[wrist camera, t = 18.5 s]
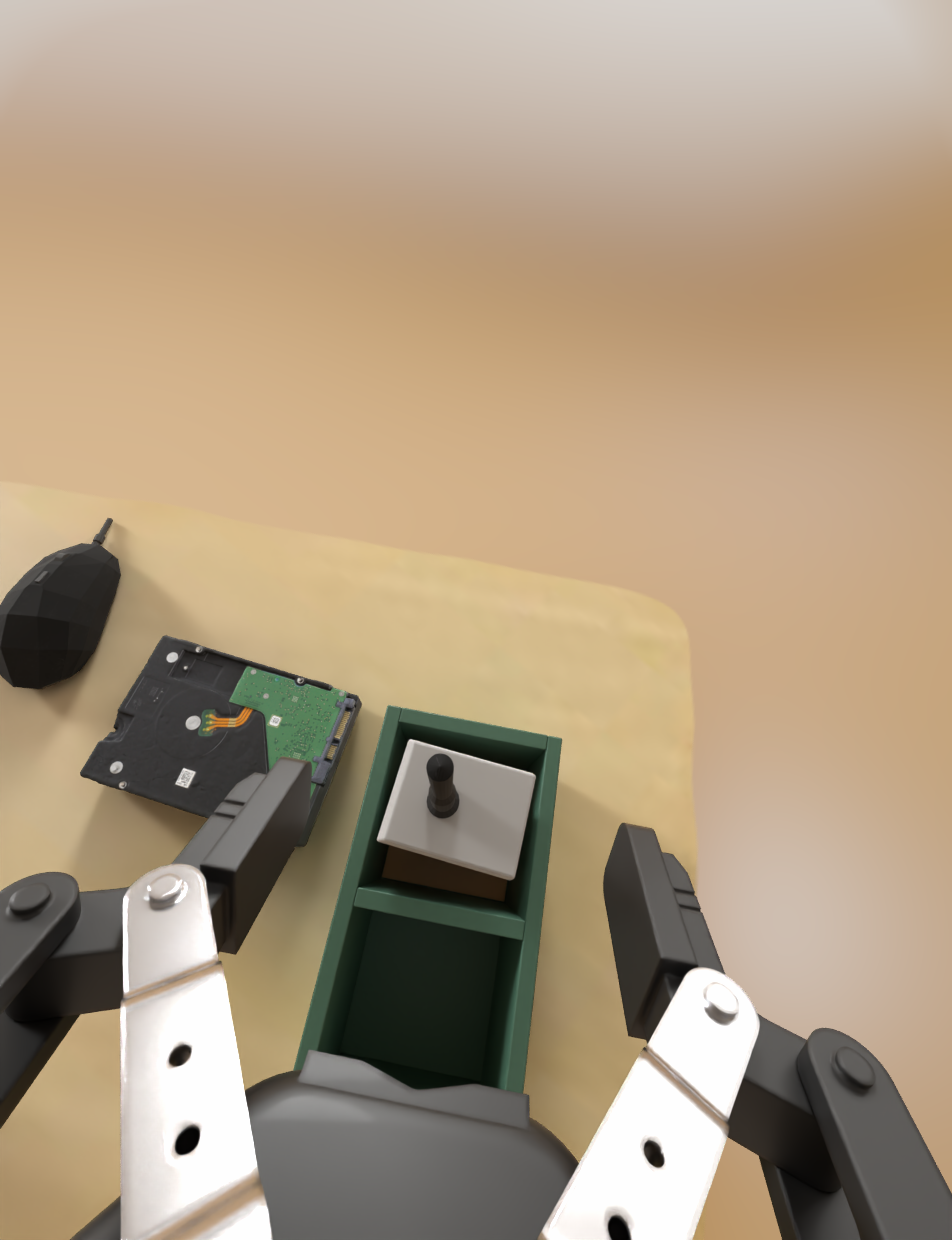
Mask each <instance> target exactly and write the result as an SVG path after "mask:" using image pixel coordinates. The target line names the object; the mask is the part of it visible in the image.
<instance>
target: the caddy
mask: <svg viewBox="0 0 952 1240" xmlns="http://www.w3.org/2000/svg"><path fill="white" fill-rule="evenodd" d="M410 739H412V740H416V741H419V742H423V743H426V744H430V745H433V746H437V747H440V748H444V749H448V750H451V751H455V752H458V753H462V754H465V755H469V756H473V757H476V758H480V759H483V760H487V761H490V762H494V763H498V764H501V765H505V766H508V767H512V768H515V769H519V770H522V771H526V772H530V773H533V774H534V775H535V776H536V779H535V784H534V788H533V793H532V798H531V803H530V807H529V812H528V817H527V822H526V827H525V831H524V836H523V841H522V846H521V851H520V855H519V860H518V865H517V870H516V874H515V877H514V879H512V880H507V879H503V878H500V877H496V876H493V875H490V874H486V873H483V872H479V871H476V870H473V869H469V868H466V867H462V866H459V865H456V864H452V863H449V862H445V861H442V860H439V859H435V858H432V857H428V856H425V855H422V854H418V853H415V852H411V851H408V850H405V849H401V848H398V847H394V846H391V845H388V844H384V843H381V842H378V841H377V837H378V834H379V831H380V828H381V825H382V822H383V819H384V815H385V812H386V809H387V806H388V803H389V800H390V797H391V794H392V790H393V787H394V784H395V781H396V778H397V775H398V772H399V768H400V765H401V762H402V759H403V756H404V753H405V750H406V747H407V743H408V741H409V740H410ZM561 744H562V739H561V738H558V737H552V736H548V737H547V735H543V734H537V733H532V732H527V731H522V730H517V729H511V728H506V727H501V726H496V725H490V724H485V723H480V722H475V721H470V720H464V719H459V718H454V717H449V716H444V715H438V714H433V713H428V712H423V711H417V710H412V709H407V708H401V707H396V706H391V705H388V706H387V710H386V714H385V718H384V721H383V725H382V729H381V733H380V737H379V741H378V745H377V749H376V752H375V756H374V760H373V764H372V768H371V772H370V776H369V780H368V783H367V787H366V791H365V795H364V799H363V803H362V807H361V810H360V814H359V818H358V822H357V826H356V830H355V834H354V838H353V841H352V845H351V849H350V853H349V857H348V861H347V865H346V869H345V872H344V876H343V880H342V884H341V888H340V892H339V896H338V899H337V903H336V907H335V911H334V915H333V919H332V923H331V927H330V930H329V934H328V938H327V942H326V946H325V950H324V954H323V958H322V961H321V965H320V969H319V973H318V977H317V981H316V985H315V989H314V992H313V996H312V1000H311V1004H310V1008H309V1012H308V1016H307V1019H306V1023H305V1027H304V1031H303V1035H302V1039H301V1043H300V1047H299V1050H298V1054H297V1058H296V1062H295V1066H294V1070H293V1071H295V1070H302V1068H303V1065H304V1062H305V1059H306V1056H307V1054H308V1051H309V1050H313V1051H318V1052H323V1053H328V1054H333V1055H338V1056H342V1057H347V1058H352V1059H357V1060H362V1061H364V1062H366V1063H368V1064H369V1065H371V1066H373V1067H375V1068H376V1069H378V1070H380V1071H382V1072H384V1073H385V1074H387V1075H389V1076H391V1077H392V1078H394V1079H396V1080H398V1081H399V1082H401V1083H403V1084H405V1085H407V1086H408V1087H410V1088H412V1089H416V1090H425V1089H433V1088H442V1087H451V1086H460V1085H468V1084H478V1085H483V1086H488V1087H493V1088H497V1089H502V1090H507V1091H512V1092H517V1093H522V1094H523V1090H524V1081H525V1072H526V1063H527V1054H528V1044H529V1035H530V1026H531V1017H532V1008H533V999H534V990H535V981H536V972H537V963H538V954H539V944H540V935H541V926H542V917H543V908H544V899H545V890H546V881H547V872H548V863H549V854H550V844H551V835H552V826H553V817H554V808H555V799H556V790H557V781H558V772H559V763H560V754H561Z"/></svg>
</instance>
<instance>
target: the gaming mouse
mask: <svg viewBox="0 0 952 1240" xmlns="http://www.w3.org/2000/svg"><path fill="white" fill-rule="evenodd" d="M112 521H113V520H112V519H111V518H107V520H106V522H105V524H104V525H103V527H102V529H101V531H100V533H99V534H96V536H95V538H94V539H93V542H92V544H78V545H75V546H72V547H69V548H66V549H63V550H60V551H57V552H55V553H53V554H51V555H49V556H47V557H45V558H43V559H42V560H41V561H40V562H39V563H38V564H36V565H35V566H34V567H33V568H32V569H30V570H29V571H28V572H27V573H26V574H25V575H24V576H23V577H22V578H21V579H20V580H19V582H18V583H17V584H16V585H15V586H14V587H13V588H12V589H11V590H10V591H9V592H8V593H7V595H6V597H5V598H4V600H3V601H2V603H1V605H0V675H1V676H2V677H3V678H4V679H5V680H6V681H7V682H9V683H10V684H11V685H12V686H13V687H22V688H33V689H43V688H45V687H47V686H50V685H52V684H55V683H57V682H60V681H62V680H64V679H67V678H69V677H71V676H73V675H74V674H76V673H77V672H78V671H80V670H81V669H82V667H83V666H84V665H85V663H86V662H87V660H88V659H89V658H90V656H91V655H92V654H93V652H94V651H95V649H96V646H97V644H98V641H99V639H100V636H101V634H102V631H103V628H104V624H105V621H106V618H107V615H108V612H109V610H110V607H111V604H112V601H113V599H114V596H115V593H116V589H117V586H118V583H119V579H120V576H121V574H120V568H119V562H118V559H117V558H116V557H114V556H113V555H112V554H111V553H109V552H108V551H107V550H106V549H104V548H103V547H102V546H100V545H101V544H102V543H103V542H104V540H105V534H106V532H107V530H108V529H109V527H110V525H111V523H112Z"/></svg>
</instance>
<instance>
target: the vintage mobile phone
mask: <svg viewBox="0 0 952 1240" xmlns="http://www.w3.org/2000/svg"><path fill="white" fill-rule="evenodd" d="M535 779H536V776H535V775H534V774H533V773H530V772H526V771H522V770H519V769H515V768H512V767H508V766H505V765H501V764H498V763H494V762H490V761H487V760H483V759H480V758H476V757H473V756H469V755H465V754H462V753H458V752H455V751H451V750H448V749H444V748H440V747H437V746H433V745H430V744H426V743H423V742H419V741H416V740H412V739H410V740H409V741H408V743H407V747H406V750H405V753H404V756H403V759H402V762H401V765H400V768H399V772H398V775H397V778H396V781H395V784H394V787H393V790H392V794H391V797H390V800H389V803H388V806H387V809H386V812H385V815H384V819H383V822H382V825H381V828H380V831H379V834H378V837H377V841H378V842H381V843H384V844H388V845H391V846H394V847H398V848H401V849H405V850H408V851H411V852H415V853H418V854H422V855H425V856H428V857H432V858H435V859H439V860H442V861H445V862H449V863H452V864H456V865H459V866H462V867H466V868H469V869H473V870H476V871H479V872H483V873H486V874H490V875H493V876H496V877H500V878H503V879H507V880H512V879H514V877H515V874H516V870H517V865H518V860H519V855H520V851H521V846H522V841H523V836H524V831H525V827H526V822H527V817H528V812H529V807H530V803H531V798H532V793H533V788H534V784H535Z"/></svg>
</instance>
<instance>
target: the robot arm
mask: <svg viewBox="0 0 952 1240" xmlns="http://www.w3.org/2000/svg"><path fill="white" fill-rule="evenodd" d="M311 777H312V764H311V762H310V761H305V760H300V759H294V758H289V757H284V756H282V757H280V758H279V759H278V760H277V762H276V763H275V764H274V766H273V767H272V768H271V770H270V771H269V772H268V774H267V775H266V774H261V773H256V772H255V773H253V774H252V775H250V776H249V777H247V778H245V779H244V780H242V781H241V782H239V783H237V784H236V785H235V786H234V788H233V789H232V790H231V791H230V793H229V794H228V795H227V796H226V797H225V799H224V802H221V804H220V805H219V806H218V807H217V809H216V810H215V811H214V814H213V815H211V816H210V817H209V818H208V820H207V821H206V822H205V823H204V825H203V826H202V827H201V828H200V829H199V831H198V832H197V833H196V834H195V836H194V837H193V838H192V839H191V840H190V842H189V843H188V844H187V845H186V847H185V848H184V849H183V850H182V852H181V853H180V854H179V855H178V856H177V858H176V859H175V860H174V861H173V862H172V864H170V865H165V866H162V867H159V868H156V869H154V870H151V871H149V872H148V873H146V874H144V875H143V876H141V877H140V878H139V879H137V880H136V881H135V882H134V883H133V884H132V885H131V887H127V888H120V889H110V890H98V891H87V892H79V887H78V883H77V881H76V880H75V879H74V878H73V877H72V876H70V875H68V874H65V873H61V872H46V873H40V874H36V875H32V876H29V877H26V878H24V879H21V880H19V881H17V882H15V883H13V884H11V885H9V886H8V887H6V888H4V889H3V890H2V891H0V1129H1V1127H2V1126H3V1125H4V1123H5V1122H6V1120H7V1119H8V1117H9V1116H10V1114H11V1113H12V1112H13V1110H14V1109H15V1107H16V1106H17V1104H18V1103H19V1102H20V1100H21V1099H22V1097H23V1096H24V1094H25V1093H26V1092H27V1090H28V1089H29V1087H30V1086H31V1084H32V1083H33V1081H34V1080H35V1079H36V1077H37V1076H38V1074H39V1073H40V1071H41V1070H42V1069H43V1067H44V1066H45V1064H46V1063H47V1061H48V1060H49V1058H50V1057H51V1056H52V1054H53V1053H54V1051H55V1050H56V1048H57V1047H58V1046H59V1044H60V1043H61V1041H62V1040H63V1038H64V1037H65V1036H66V1034H67V1033H68V1031H69V1030H70V1028H71V1027H72V1025H73V1024H74V1023H75V1021H76V1020H77V1018H78V1017H79V1015H80V1014H85V1013H92V1012H98V1011H105V1010H112V1009H119V1008H120V1088H121V1196H120V1197H118V1198H117V1199H116V1200H115V1201H114V1202H113V1203H111V1204H110V1205H109V1206H108V1207H107V1208H106V1209H105V1210H103V1211H102V1212H101V1213H100V1214H99V1215H98V1216H96V1217H95V1218H94V1219H93V1220H92V1221H91V1222H90V1223H88V1224H87V1225H86V1226H85V1227H84V1228H83V1229H81V1230H80V1231H79V1232H78V1233H77V1234H76V1235H74V1236H73V1237H72V1238H71V1239H70V1240H692V1239H693V1236H694V1233H695V1230H696V1227H697V1224H698V1221H699V1218H700V1215H701V1213H702V1210H703V1207H704V1204H705V1201H706V1198H707V1195H708V1192H709V1189H710V1186H711V1183H712V1180H713V1178H714V1174H715V1172H716V1169H717V1165H718V1163H719V1160H720V1157H721V1154H722V1151H723V1148H724V1145H725V1142H726V1139H727V1137H728V1138H730V1139H732V1140H733V1141H735V1142H737V1143H738V1144H740V1145H742V1146H744V1147H745V1148H747V1149H749V1150H750V1151H752V1152H754V1153H755V1154H757V1155H759V1159H760V1162H761V1166H762V1169H763V1173H764V1177H765V1180H766V1183H767V1187H768V1191H769V1194H770V1197H771V1201H772V1205H773V1208H774V1212H775V1216H776V1219H777V1223H778V1226H779V1229H780V1233H781V1237H782V1240H952V1193H951V1192H950V1190H949V1188H948V1186H947V1184H946V1182H945V1180H944V1178H943V1176H942V1174H941V1172H940V1170H939V1168H938V1167H937V1165H936V1163H935V1161H934V1159H933V1157H932V1155H931V1153H930V1151H929V1149H928V1147H927V1146H926V1144H925V1142H924V1140H923V1138H922V1136H921V1134H920V1132H919V1130H918V1128H917V1127H916V1124H915V1123H914V1121H913V1119H912V1117H911V1115H910V1113H909V1111H908V1109H907V1107H906V1105H905V1103H904V1102H903V1100H902V1098H901V1096H900V1094H899V1092H898V1090H897V1088H896V1086H895V1084H894V1082H893V1081H892V1079H891V1077H890V1076H889V1074H888V1073H887V1071H886V1070H885V1068H884V1067H883V1066H882V1064H881V1063H880V1062H879V1061H878V1060H877V1059H876V1057H874V1055H873V1054H872V1053H871V1052H869V1051H868V1050H867V1049H866V1048H865V1047H864V1046H862V1045H861V1044H860V1043H859V1042H857V1041H856V1040H854V1039H853V1038H851V1037H850V1036H848V1035H846V1034H844V1033H842V1032H840V1031H837V1030H834V1029H829V1028H819V1029H816V1030H815V1031H813V1032H812V1033H811V1035H810V1036H809V1038H808V1039H807V1040H806V1039H803V1038H802V1037H800V1036H798V1035H796V1034H794V1033H792V1032H790V1031H788V1030H786V1029H784V1028H782V1027H780V1026H778V1025H776V1024H774V1023H772V1022H770V1021H768V1020H767V1019H765V1018H763V1017H762V1016H761V1015H759V1014H758V1013H757V1011H756V1009H755V1007H754V1005H753V1003H752V1001H751V1000H750V998H749V997H748V995H747V994H746V993H745V992H744V990H743V989H742V988H741V987H740V986H739V985H738V984H737V983H735V982H734V981H733V980H732V979H730V978H729V977H727V976H726V975H725V972H724V970H723V967H722V965H721V962H720V959H719V956H718V954H717V951H716V949H715V946H714V943H713V940H712V938H711V935H710V932H709V929H708V927H707V924H706V921H705V919H704V916H703V913H701V912H700V909H701V908H700V905H699V903H698V900H697V897H696V896H695V895H694V893H695V892H694V889H693V886H692V884H691V881H690V878H689V876H688V873H687V872H686V870H685V869H684V868H683V867H682V865H681V864H680V863H679V862H678V860H677V859H676V858H675V856H674V855H673V854H669V853H663V852H661V849H660V846H659V843H658V840H657V837H656V834H655V831H654V830H653V829H652V828H647V827H642V826H637V825H632V824H627V823H622V824H621V825H620V827H619V829H618V832H617V835H616V838H615V841H614V844H613V847H612V850H611V853H610V856H609V859H608V862H607V865H606V868H605V873H604V882H603V891H604V899H605V905H606V910H607V916H608V922H609V928H610V933H611V939H612V945H613V951H614V956H615V962H616V968H617V974H618V979H619V985H620V991H621V997H622V1002H623V1008H624V1014H625V1020H626V1025H627V1031H628V1036H630V1037H635V1038H640V1039H645V1040H646V1041H647V1046H646V1048H645V1047H644V1048H643V1050H642V1051H641V1053H640V1055H639V1056H638V1058H637V1060H636V1062H635V1063H634V1065H633V1067H632V1069H631V1071H630V1073H629V1074H628V1076H627V1078H626V1080H625V1082H624V1083H623V1085H622V1087H621V1089H620V1091H619V1092H618V1094H617V1096H616V1098H615V1100H614V1101H613V1103H612V1105H611V1107H610V1109H609V1110H608V1112H607V1114H606V1116H605V1118H604V1119H603V1121H602V1123H601V1125H600V1127H599V1128H598V1130H597V1132H596V1134H595V1136H594V1138H593V1139H592V1141H591V1143H590V1145H589V1147H588V1148H587V1150H586V1152H585V1154H584V1156H583V1157H582V1159H581V1161H580V1163H578V1161H577V1160H576V1159H575V1157H574V1156H573V1155H572V1153H571V1152H570V1151H569V1150H568V1149H567V1148H566V1146H565V1145H564V1144H563V1143H562V1142H561V1141H560V1140H559V1139H558V1138H557V1137H556V1136H555V1135H554V1134H553V1133H551V1132H550V1131H549V1130H548V1129H546V1128H545V1127H544V1126H542V1125H541V1124H540V1123H538V1122H537V1121H535V1120H533V1119H532V1118H530V1117H529V1095H527V1094H522V1093H517V1092H512V1091H507V1090H502V1089H497V1088H493V1087H488V1086H483V1085H478V1084H468V1085H460V1086H451V1087H442V1088H433V1089H425V1090H416V1089H412V1088H410V1087H408V1086H407V1085H405V1084H403V1083H401V1082H399V1081H398V1080H396V1079H394V1078H392V1077H391V1076H389V1075H387V1074H385V1073H384V1072H382V1071H380V1070H378V1069H376V1068H375V1067H373V1066H371V1065H369V1064H368V1063H366V1062H364V1061H362V1060H357V1059H352V1058H347V1057H342V1056H338V1055H333V1054H328V1053H323V1052H318V1051H313V1050H309V1051H308V1054H307V1056H306V1059H305V1062H304V1065H303V1068H302V1070H295V1071H290V1072H286V1073H282V1074H278V1075H275V1076H273V1077H270V1078H268V1079H265V1080H263V1081H261V1082H259V1083H257V1084H255V1085H254V1086H252V1087H250V1088H248V1089H247V1090H245V1091H244V1086H243V1080H242V1075H241V1069H240V1063H239V1057H238V1051H237V1045H236V1040H235V1034H234V1028H233V1022H232V1016H231V1010H230V1005H229V999H228V993H227V987H226V981H225V975H224V970H223V966H222V962H221V961H219V960H218V953H219V951H220V952H225V953H230V954H235V955H236V954H237V952H238V950H239V948H240V946H241V945H242V943H243V941H244V939H245V937H246V936H247V934H248V932H249V930H250V928H251V926H252V925H253V923H254V921H255V919H256V917H257V916H258V914H259V912H260V910H261V908H262V906H263V905H264V903H265V901H266V899H267V897H268V895H269V894H270V892H271V890H272V888H273V886H274V885H275V883H276V881H277V879H278V877H279V875H280V874H281V872H282V870H283V868H284V866H285V865H286V863H287V861H288V859H289V857H290V855H291V854H292V852H293V850H294V848H295V846H296V845H297V843H298V841H299V839H300V837H301V835H302V833H303V831H304V829H305V826H306V823H307V819H308V815H309V809H310V793H311Z"/></svg>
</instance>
